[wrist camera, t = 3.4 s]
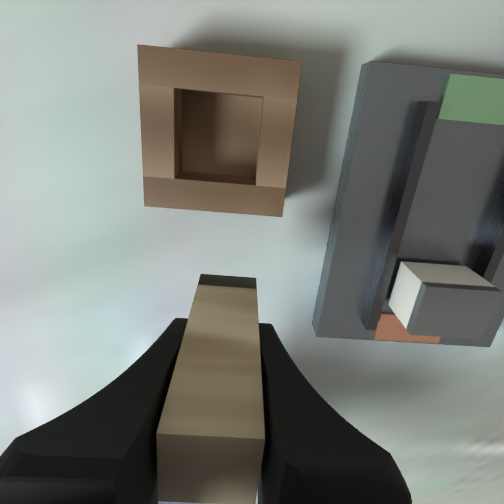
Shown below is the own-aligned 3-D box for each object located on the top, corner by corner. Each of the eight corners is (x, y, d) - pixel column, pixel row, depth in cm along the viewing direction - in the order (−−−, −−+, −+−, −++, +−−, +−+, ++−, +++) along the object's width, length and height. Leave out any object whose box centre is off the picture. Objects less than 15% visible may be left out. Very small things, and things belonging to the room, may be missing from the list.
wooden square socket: (276, 201, 20) (282, 217, 17) (158, 192, 19) (144, 206, 17) (293, 69, 17) (302, 61, 14) (155, 55, 17) (137, 44, 14)
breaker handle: (449, 308, 21) (480, 339, 18) (388, 304, 21) (410, 334, 18) (466, 266, 20) (502, 291, 17) (401, 261, 19) (426, 286, 17)
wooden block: (250, 323, 16) (255, 505, 9) (199, 320, 16) (158, 501, 8) (255, 278, 15) (264, 438, 8) (200, 273, 15) (155, 433, 8)
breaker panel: (475, 333, 24) (500, 357, 22) (312, 323, 23) (319, 346, 21) (582, 87, 17) (633, 84, 15) (361, 64, 17) (380, 58, 15)
